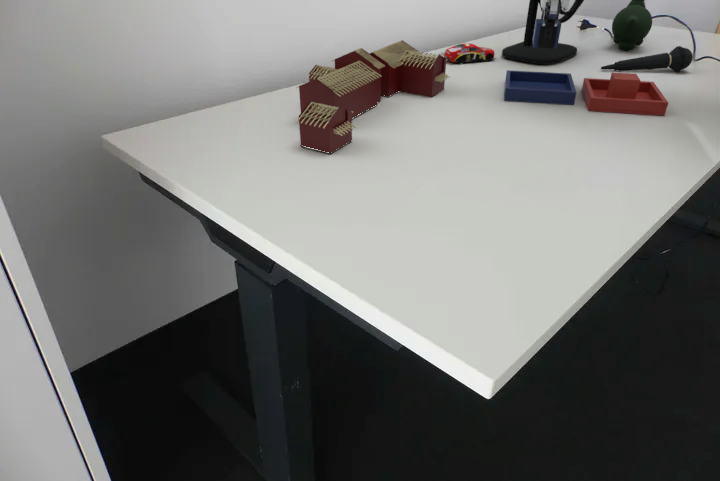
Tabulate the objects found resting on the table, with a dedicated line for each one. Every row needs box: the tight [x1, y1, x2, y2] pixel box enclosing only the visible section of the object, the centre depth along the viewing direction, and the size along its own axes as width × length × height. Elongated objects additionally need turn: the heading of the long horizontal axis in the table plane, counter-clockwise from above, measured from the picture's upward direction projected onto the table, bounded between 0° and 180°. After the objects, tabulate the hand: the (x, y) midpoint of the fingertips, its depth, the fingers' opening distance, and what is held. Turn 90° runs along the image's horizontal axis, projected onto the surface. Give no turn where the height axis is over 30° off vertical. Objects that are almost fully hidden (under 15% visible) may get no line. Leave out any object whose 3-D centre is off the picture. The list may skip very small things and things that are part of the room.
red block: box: [607, 72, 641, 99], centre depth 107 cm, size 5×5×5 cm
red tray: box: [581, 77, 669, 117], centre depth 108 cm, size 14×14×3 cm
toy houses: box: [295, 39, 451, 153], centre depth 104 cm, size 45×20×10 cm, turn 148°
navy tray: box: [503, 69, 577, 106], centre depth 114 cm, size 14×14×3 cm
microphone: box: [600, 45, 694, 73], centre depth 126 cm, size 6×6×20 cm
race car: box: [443, 42, 496, 64], centre depth 136 cm, size 13×5×4 cm, turn 105°
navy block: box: [533, 18, 562, 49], centre depth 108 cm, size 5×5×5 cm
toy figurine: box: [611, 0, 653, 53], centre depth 143 cm, size 9×19×25 cm
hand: (545, 43), depth 109 cm, fingers closed on navy block, 4 cm apart
